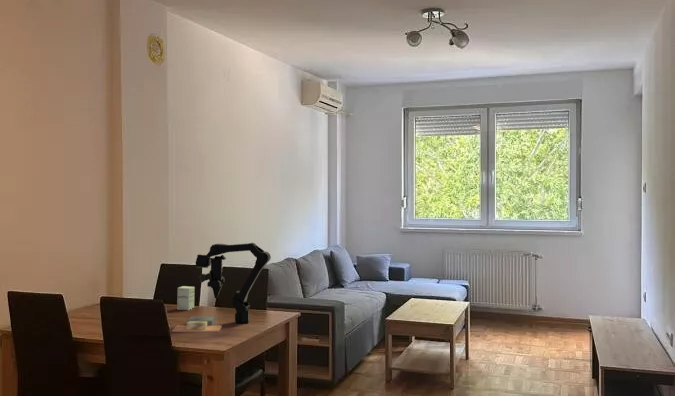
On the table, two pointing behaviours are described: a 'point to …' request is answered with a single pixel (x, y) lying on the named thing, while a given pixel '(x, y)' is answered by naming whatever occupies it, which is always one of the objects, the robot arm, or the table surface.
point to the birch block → (196, 324)
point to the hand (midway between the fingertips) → (215, 298)
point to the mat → (184, 329)
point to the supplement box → (185, 298)
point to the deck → (203, 319)
